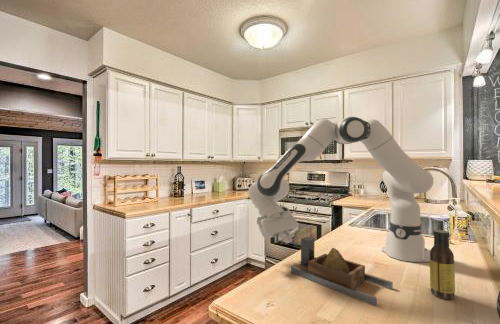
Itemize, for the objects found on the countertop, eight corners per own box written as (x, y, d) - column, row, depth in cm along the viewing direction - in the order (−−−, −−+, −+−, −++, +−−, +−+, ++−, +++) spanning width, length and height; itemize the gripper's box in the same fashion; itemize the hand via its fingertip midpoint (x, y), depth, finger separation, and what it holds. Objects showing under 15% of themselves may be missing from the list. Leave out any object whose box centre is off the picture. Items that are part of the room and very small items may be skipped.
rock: (362, 277, 88) (344, 261, 97) (350, 259, 85) (334, 245, 95) (337, 297, 87) (322, 280, 96) (325, 280, 84) (311, 264, 94)
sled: (311, 262, 105) (311, 234, 105) (364, 280, 90) (365, 247, 89) (294, 270, 97) (294, 240, 97) (349, 291, 82) (350, 256, 81)
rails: (312, 261, 106) (313, 256, 106) (392, 288, 85) (392, 282, 85) (290, 272, 96) (290, 266, 96) (375, 305, 74) (375, 298, 74)
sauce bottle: (457, 296, 80) (458, 232, 80) (450, 302, 76) (451, 235, 76) (433, 287, 85) (434, 227, 85) (425, 293, 81) (426, 230, 81)
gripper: (258, 213, 104) (277, 243, 97) (290, 207, 118) (308, 233, 111) (250, 222, 107) (268, 252, 100) (282, 215, 121) (299, 241, 114)
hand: (289, 242), depth 106 cm, fingers closed
